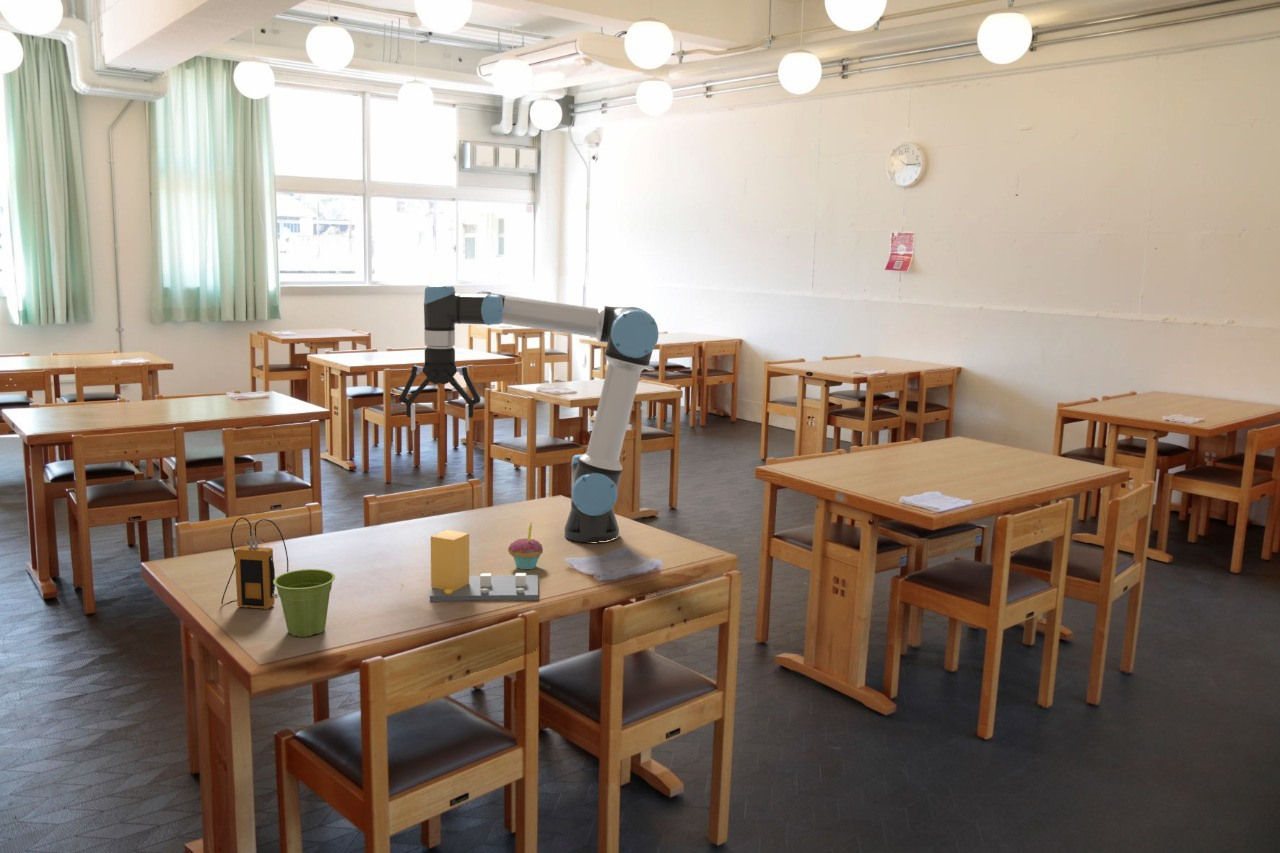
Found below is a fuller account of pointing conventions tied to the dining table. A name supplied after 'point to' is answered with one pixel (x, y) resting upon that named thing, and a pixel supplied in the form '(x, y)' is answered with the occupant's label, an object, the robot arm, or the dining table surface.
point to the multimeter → (254, 573)
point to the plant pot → (305, 600)
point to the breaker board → (492, 588)
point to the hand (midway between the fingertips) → (440, 430)
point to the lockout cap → (450, 560)
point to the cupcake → (526, 551)
